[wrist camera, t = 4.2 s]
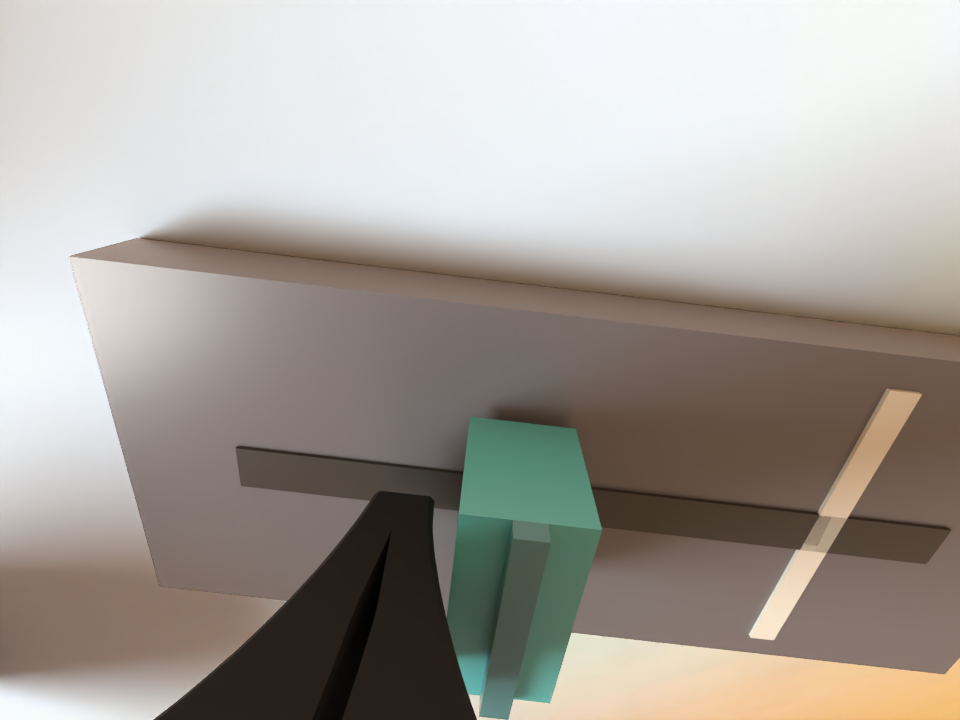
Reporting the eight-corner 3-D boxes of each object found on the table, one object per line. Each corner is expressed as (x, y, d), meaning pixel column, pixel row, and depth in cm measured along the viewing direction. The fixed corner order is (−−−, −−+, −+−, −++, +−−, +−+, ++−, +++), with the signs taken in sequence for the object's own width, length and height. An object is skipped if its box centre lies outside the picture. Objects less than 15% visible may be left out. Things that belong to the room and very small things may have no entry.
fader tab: (539, 581, 13) (552, 724, 9) (452, 571, 13) (435, 711, 9) (575, 428, 10) (607, 549, 7) (469, 416, 10) (457, 532, 7)
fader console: (894, 613, 16) (947, 677, 14) (199, 534, 16) (157, 589, 14) (1091, 351, 12) (1206, 392, 10) (137, 238, 11) (64, 257, 9)
